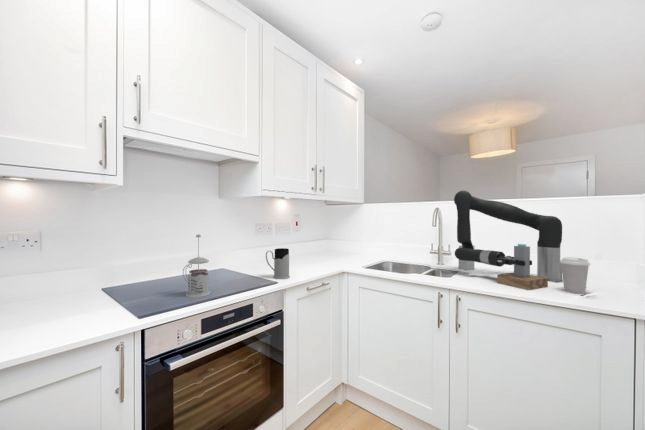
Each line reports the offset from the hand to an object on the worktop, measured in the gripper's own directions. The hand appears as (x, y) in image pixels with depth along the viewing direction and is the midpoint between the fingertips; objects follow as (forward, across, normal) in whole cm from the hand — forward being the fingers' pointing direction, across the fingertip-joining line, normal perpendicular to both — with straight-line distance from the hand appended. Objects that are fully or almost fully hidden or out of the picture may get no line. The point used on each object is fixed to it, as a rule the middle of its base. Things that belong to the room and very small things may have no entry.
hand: (528, 263), depth 126 cm
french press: (-50, -139, +12) cm, 148 cm away
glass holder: (-67, -100, +12) cm, 121 cm away
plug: (-3, 0, +10) cm, 11 cm away
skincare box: (-43, +14, +12) cm, 46 cm away
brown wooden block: (-3, 0, +12) cm, 12 cm away
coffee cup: (+13, +9, +12) cm, 20 cm away
